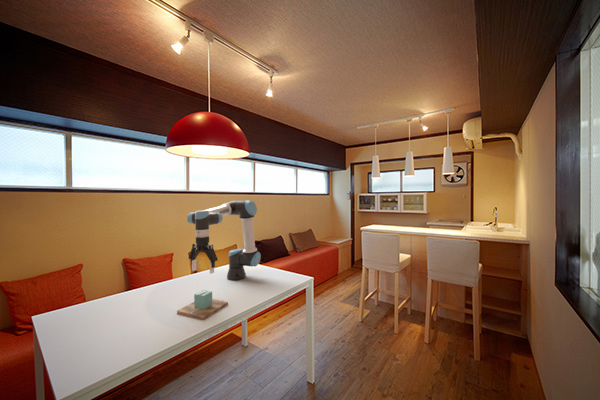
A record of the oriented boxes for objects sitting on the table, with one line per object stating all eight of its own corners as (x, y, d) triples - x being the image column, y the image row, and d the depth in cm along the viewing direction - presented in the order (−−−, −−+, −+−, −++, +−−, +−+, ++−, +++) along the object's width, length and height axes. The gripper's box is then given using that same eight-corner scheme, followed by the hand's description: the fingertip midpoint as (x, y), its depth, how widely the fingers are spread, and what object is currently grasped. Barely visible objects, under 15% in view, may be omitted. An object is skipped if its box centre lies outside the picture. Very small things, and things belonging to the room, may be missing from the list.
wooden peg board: (203, 299, 155) (203, 288, 155) (228, 304, 148) (227, 293, 148) (176, 313, 137) (176, 301, 137) (203, 319, 129) (203, 307, 129)
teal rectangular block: (203, 302, 147) (203, 288, 147) (212, 304, 144) (212, 290, 144) (194, 307, 140) (194, 293, 140) (203, 309, 138) (203, 294, 138)
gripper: (181, 236, 143) (182, 271, 143) (214, 238, 133) (215, 276, 134) (191, 234, 150) (192, 267, 150) (223, 236, 140) (224, 272, 141)
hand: (203, 271), depth 142 cm, fingers open, 13 cm apart
